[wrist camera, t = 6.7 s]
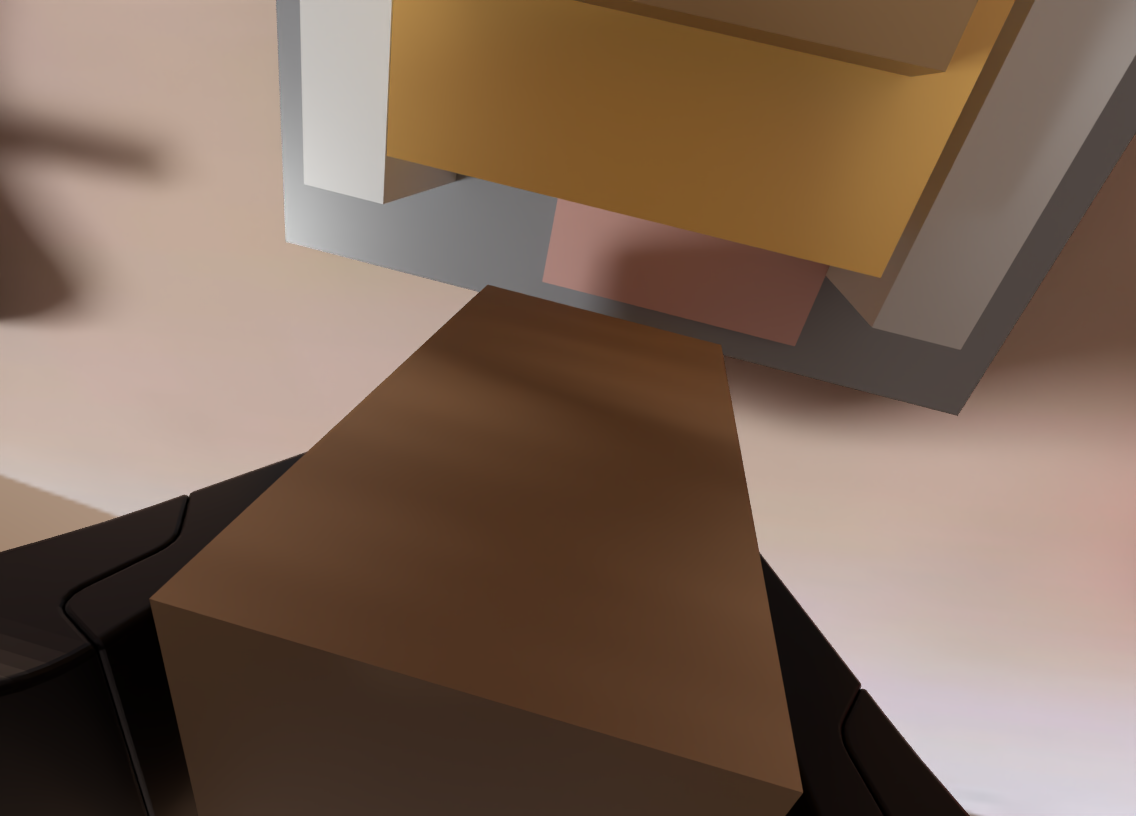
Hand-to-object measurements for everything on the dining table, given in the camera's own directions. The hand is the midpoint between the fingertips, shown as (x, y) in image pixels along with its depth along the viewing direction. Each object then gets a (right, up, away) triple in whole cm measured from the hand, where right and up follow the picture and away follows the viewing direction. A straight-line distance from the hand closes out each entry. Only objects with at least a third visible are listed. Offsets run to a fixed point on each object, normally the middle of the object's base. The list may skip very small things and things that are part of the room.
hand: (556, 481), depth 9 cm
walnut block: (0, +1, +2) cm, 2 cm away
